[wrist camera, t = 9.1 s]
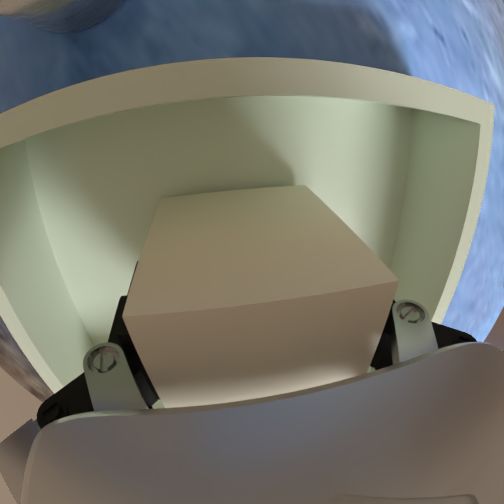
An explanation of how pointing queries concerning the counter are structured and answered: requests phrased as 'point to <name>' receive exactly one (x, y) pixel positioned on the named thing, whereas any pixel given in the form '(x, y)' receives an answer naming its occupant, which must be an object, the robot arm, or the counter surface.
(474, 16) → the counter surface
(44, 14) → the tea tin
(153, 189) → the crate
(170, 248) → the flour box
